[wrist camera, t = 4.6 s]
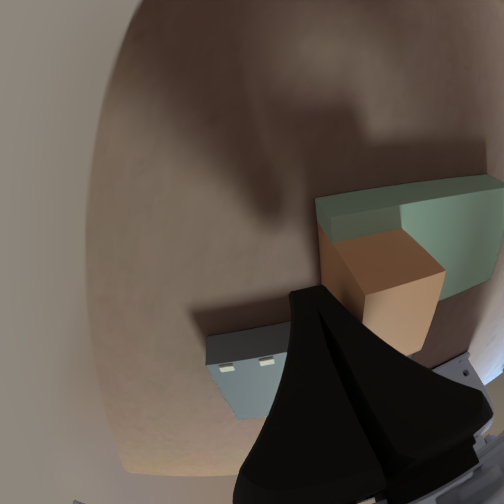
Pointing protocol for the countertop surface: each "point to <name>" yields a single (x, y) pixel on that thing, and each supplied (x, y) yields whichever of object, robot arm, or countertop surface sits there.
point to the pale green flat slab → (408, 250)
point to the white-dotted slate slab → (249, 367)
